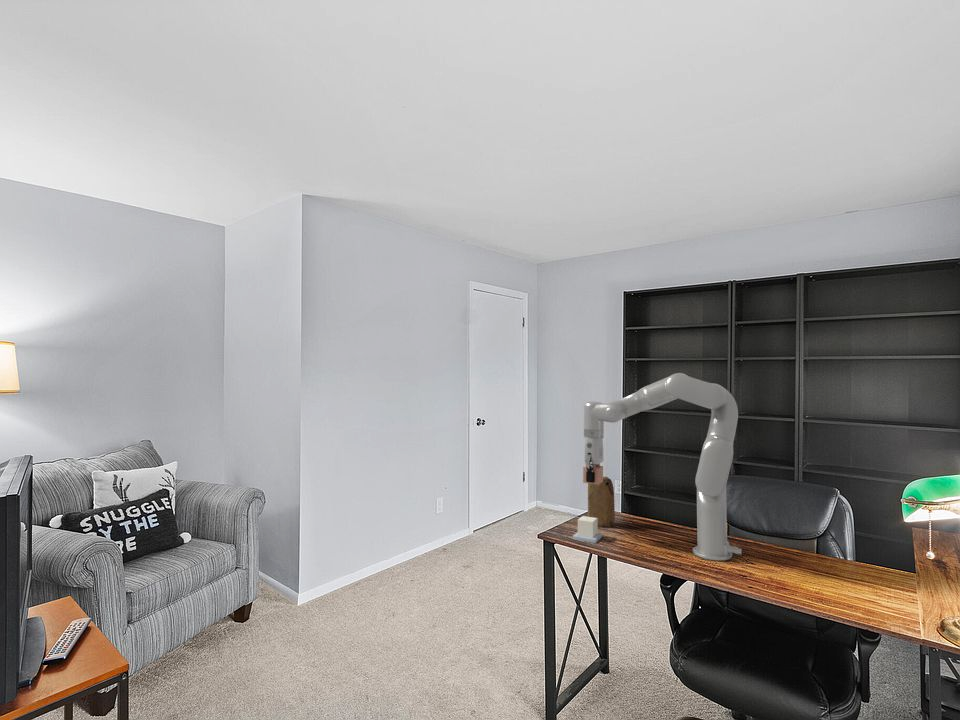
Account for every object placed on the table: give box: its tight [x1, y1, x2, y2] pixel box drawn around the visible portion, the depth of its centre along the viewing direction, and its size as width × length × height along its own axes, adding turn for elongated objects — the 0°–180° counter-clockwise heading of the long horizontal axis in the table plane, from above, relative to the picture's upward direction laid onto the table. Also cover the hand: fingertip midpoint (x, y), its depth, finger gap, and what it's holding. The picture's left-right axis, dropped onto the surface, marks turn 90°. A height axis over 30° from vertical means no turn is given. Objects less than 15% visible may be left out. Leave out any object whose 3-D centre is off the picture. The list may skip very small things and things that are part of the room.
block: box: [587, 476, 616, 528], centre depth 217 cm, size 11×8×20 cm
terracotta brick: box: [582, 465, 604, 485], centre depth 199 cm, size 6×6×6 cm
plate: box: [572, 531, 603, 544], centre depth 200 cm, size 9×9×1 cm
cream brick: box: [577, 515, 599, 538], centre depth 200 cm, size 6×6×6 cm
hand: (593, 480), depth 199 cm, fingers closed on terracotta brick, 6 cm apart
